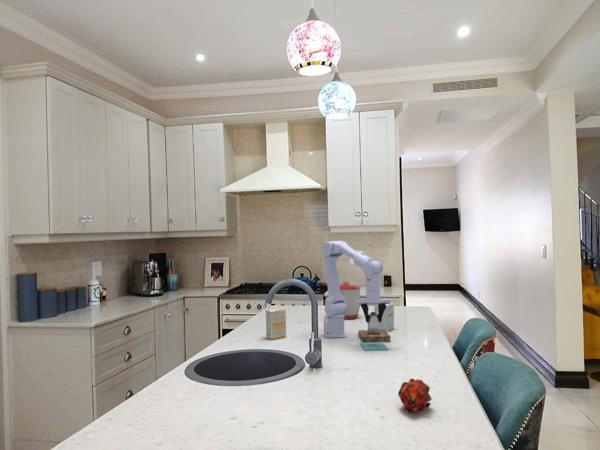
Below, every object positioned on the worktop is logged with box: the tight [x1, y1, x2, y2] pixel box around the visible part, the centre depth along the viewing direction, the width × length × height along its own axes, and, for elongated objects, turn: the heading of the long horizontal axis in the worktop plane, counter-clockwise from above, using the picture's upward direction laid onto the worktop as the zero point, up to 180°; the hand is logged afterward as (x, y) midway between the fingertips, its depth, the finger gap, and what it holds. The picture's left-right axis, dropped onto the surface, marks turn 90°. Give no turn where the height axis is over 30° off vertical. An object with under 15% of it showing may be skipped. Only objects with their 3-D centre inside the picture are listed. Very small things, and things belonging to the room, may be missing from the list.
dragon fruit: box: [397, 378, 432, 413], centre depth 119 cm, size 8×8×12 cm
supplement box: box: [265, 307, 287, 341], centre depth 197 cm, size 8×5×13 cm, turn 124°
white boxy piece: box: [373, 302, 395, 333], centre depth 211 cm, size 7×7×13 cm
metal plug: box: [367, 311, 379, 333], centre depth 181 cm, size 5×5×8 cm
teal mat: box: [359, 342, 389, 352], centre depth 180 cm, size 10×10×1 cm
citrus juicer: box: [333, 281, 361, 320], centre depth 239 cm, size 16×17×20 cm
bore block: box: [357, 329, 392, 343], centre depth 193 cm, size 12×12×2 cm
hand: (373, 321), depth 181 cm, fingers closed on metal plug, 5 cm apart
